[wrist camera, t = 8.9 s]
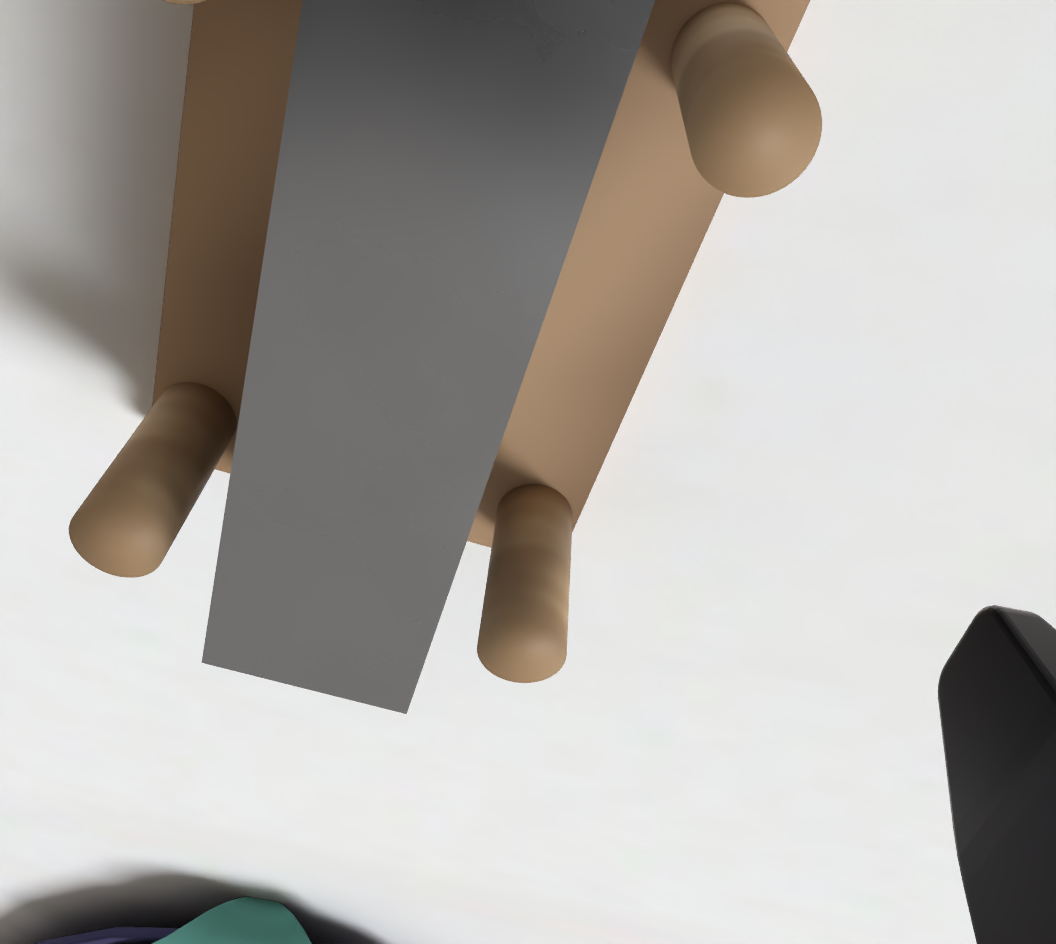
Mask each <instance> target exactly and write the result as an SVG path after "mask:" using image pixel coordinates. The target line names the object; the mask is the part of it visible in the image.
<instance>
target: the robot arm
mask: <svg viewBox="0 0 1056 944" xmlns="http://www.w3.org/2000/svg"><path fill="white" fill-rule="evenodd" d="M938 701H939V709H940V718H941V727H942V735H943V744H944V752H945V761H946V769H947V778H948V787H949V795H950V804H951V812H952V821H953V830H954V836H955V843H956V850H957V856H958V861H959V866H960V871H961V876H962V881H963V886H964V890H965V894H966V899H967V903H968V907H969V912H970V916H971V920H972V925H973V929H974V933H975V938H976V942H977V944H1056V629H1054V628H1053V627H1052V626H1051V625H1050V624H1049V623H1047V622H1046V621H1045V620H1044V619H1043V618H1041V617H1040V616H1039V615H1036V614H1034V613H1032V612H1028V611H1023V610H1017V609H1012V608H1007V607H1001V606H996V605H993V606H988V607H985V608H983V609H982V610H981V611H979V612H978V614H977V615H976V616H975V617H974V619H973V621H972V622H971V624H970V625H969V627H968V629H967V630H966V632H965V633H964V635H963V637H962V638H961V640H960V641H959V643H958V645H957V646H956V648H955V649H954V651H953V653H952V654H951V656H950V657H949V659H948V661H947V662H946V664H945V666H944V668H943V670H942V672H941V675H940V679H939V684H938Z"/></svg>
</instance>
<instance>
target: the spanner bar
mask: <svg viewBox="0 0 1056 944" xmlns="http://www.w3.org/2000/svg"><path fill="white" fill-rule="evenodd" d="M654 3H655V0H302V7H301V13H300V20H299V27H298V33H297V40H296V46H295V53H294V60H293V66H292V73H291V79H290V86H289V92H288V99H287V106H286V112H285V119H284V125H283V132H282V138H281V145H280V152H279V158H278V165H277V171H276V178H275V184H274V191H273V198H272V204H271V211H270V217H269V224H268V231H267V237H266V244H265V250H264V257H263V263H262V270H261V277H260V283H259V290H258V296H257V303H256V309H255V316H254V323H253V329H252V336H251V342H250V349H249V355H248V362H247V369H246V375H245V382H244V388H243V395H242V401H241V408H240V415H239V421H238V428H237V434H236V441H235V448H234V454H233V461H232V467H231V474H230V480H229V487H228V494H227V500H226V507H225V513H224V520H223V526H222V533H221V540H220V546H219V553H218V559H217V566H216V572H215V579H214V586H213V592H212V599H211V605H210V612H209V618H208V625H207V632H206V638H205V645H204V651H203V658H202V663H205V664H209V665H213V666H217V667H221V668H225V669H229V670H233V671H237V672H241V673H245V674H249V675H253V676H257V677H261V678H265V679H269V680H273V681H277V682H281V683H285V684H289V685H293V686H297V687H301V688H305V689H309V690H313V691H317V692H321V693H325V694H329V695H333V696H337V697H341V698H345V699H349V700H353V701H357V702H361V703H365V704H369V705H373V706H377V707H381V708H385V709H389V710H393V711H397V712H401V713H405V714H407V711H408V708H409V705H410V702H411V699H412V696H413V694H414V691H415V688H416V685H417V682H418V679H419V676H420V674H421V671H422V668H423V665H424V662H425V659H426V656H427V653H428V651H429V648H430V645H431V642H432V639H433V636H434V633H435V631H436V628H437V625H438V622H439V619H440V616H441V613H442V610H443V608H444V605H445V602H446V599H447V596H448V593H449V590H450V588H451V585H452V582H453V579H454V576H455V573H456V570H457V567H458V565H459V562H460V559H461V556H462V553H463V550H464V547H465V545H466V542H467V539H468V536H469V533H470V530H471V527H472V524H473V522H474V519H475V516H476V513H477V510H478V507H479V504H480V502H481V499H482V496H483V493H484V490H485V487H486V484H487V481H488V479H489V476H490V473H491V470H492V467H493V464H494V461H495V459H496V456H497V453H498V450H499V447H500V444H501V441H502V438H503V436H504V433H505V430H506V427H507V424H508V421H509V418H510V416H511V413H512V410H513V407H514V404H515V401H516V398H517V395H518V393H519V390H520V387H521V384H522V381H523V378H524V375H525V373H526V370H527V367H528V364H529V361H530V358H531V355H532V352H533V350H534V347H535V344H536V341H537V338H538V335H539V332H540V330H541V327H542V324H543V321H544V318H545V315H546V312H547V309H548V307H549V304H550V301H551V298H552V295H553V292H554V289H555V287H556V284H557V281H558V278H559V275H560V272H561V269H562V266H563V264H564V261H565V258H566V255H567V252H568V249H569V246H570V244H571V241H572V238H573V235H574V232H575V229H576V226H577V223H578V221H579V218H580V215H581V212H582V209H583V206H584V203H585V201H586V198H587V195H588V192H589V189H590V186H591V183H592V180H593V178H594V175H595V172H596V169H597V166H598V163H599V160H600V158H601V155H602V152H603V149H604V146H605V143H606V140H607V137H608V135H609V132H610V129H611V126H612V123H613V120H614V117H615V115H616V112H617V109H618V106H619V103H620V100H621V97H622V94H623V92H624V89H625V86H626V83H627V80H628V77H629V74H630V72H631V69H632V66H633V63H634V60H635V57H636V54H637V51H638V49H639V46H640V43H641V40H642V37H643V34H644V31H645V29H646V26H647V23H648V20H649V17H650V14H651V11H652V8H653V6H654Z"/></svg>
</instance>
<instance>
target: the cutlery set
mask: <svg viewBox="0 0 1056 944" xmlns="http://www.w3.org/2000/svg"><path fill="white" fill-rule="evenodd" d="M37 944H312V943H311V941H310V940H309V938H308V936H307V934H306V933H305V931H304V929H303V928H302V926H301V925H300V923H299V922H298V921H297V919H296V918H295V916H294V915H293V914H292V913H291V912H290V911H289V910H288V909H287V908H286V907H285V906H283V905H282V904H281V903H278V902H273V901H268V900H263V899H258V898H253V897H248V896H247V897H243V898H238V899H234V900H230V901H227V902H225V903H223V904H221V905H219V906H216V907H214V908H212V909H210V910H208V911H206V912H205V913H203V914H202V915H200V916H199V917H197V918H195V919H194V920H192V921H191V922H189V923H187V924H186V925H184V926H183V927H181V928H151V927H115V928H109V929H104V930H99V931H93V932H88V933H82V934H77V935H71V936H66V937H60V938H55V939H49V940H44V941H40V942H39V943H37Z"/></svg>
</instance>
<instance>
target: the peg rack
mask: <svg viewBox="0 0 1056 944" xmlns="http://www.w3.org/2000/svg"><path fill="white" fill-rule="evenodd" d="M163 1H166V2H170V3H175V4H194V10H193V19H192V29H191V39H190V48H189V58H188V68H187V77H186V87H185V97H184V106H183V116H182V126H181V135H180V145H179V154H178V164H177V174H176V183H175V193H174V203H173V212H172V222H171V232H170V241H169V251H168V261H167V270H166V280H165V290H164V299H163V309H162V318H161V328H160V338H159V347H158V357H157V367H156V376H155V386H154V396H153V405H152V408H151V409H150V411H149V412H148V414H147V415H146V416H145V418H144V419H143V421H142V422H141V423H140V425H139V426H138V427H137V429H136V430H135V432H134V433H133V434H132V436H131V437H130V439H129V440H128V441H127V443H126V444H125V445H124V447H123V448H122V450H121V451H120V452H119V454H118V455H117V457H116V458H115V459H114V461H113V462H112V463H111V465H110V466H109V468H108V469H107V470H106V472H105V473H104V475H103V476H102V477H101V479H100V480H99V481H98V483H97V484H96V486H95V487H94V488H93V490H92V491H91V493H90V494H89V495H88V497H87V498H86V499H85V501H84V502H83V504H82V505H81V506H80V508H79V509H78V511H77V512H76V513H75V515H74V516H73V518H72V519H71V522H70V525H69V535H70V539H71V542H72V544H73V546H74V548H75V549H76V551H77V552H78V553H79V554H80V555H81V557H82V558H84V559H85V560H86V561H87V562H88V563H90V564H91V565H92V566H94V567H96V568H97V569H99V570H101V571H103V572H106V573H108V574H112V575H115V576H120V577H140V576H144V575H147V574H149V573H151V572H153V571H154V570H156V569H157V568H158V567H159V565H160V564H161V562H162V561H163V559H164V557H165V555H166V554H167V552H168V550H169V548H170V546H171V545H172V543H173V541H174V539H175V538H176V536H177V534H178V532H179V531H180V529H181V527H182V525H183V524H184V522H185V520H186V518H187V516H188V515H189V513H190V511H191V509H192V508H193V506H194V504H195V502H196V501H197V499H198V497H199V495H200V494H201V492H202V490H203V488H204V486H205V485H206V483H207V481H208V479H209V478H210V476H211V474H212V472H213V471H214V469H217V470H220V471H224V472H227V473H231V467H232V461H233V454H234V448H235V441H236V434H237V428H238V421H239V415H240V408H241V401H242V395H243V388H244V382H245V375H246V369H247V362H248V355H249V349H250V342H251V336H252V329H253V323H254V316H255V309H256V303H257V296H258V290H259V283H260V277H261V270H262V263H263V257H264V250H265V244H266V237H267V231H268V224H269V217H270V211H271V204H272V198H273V191H274V184H275V178H276V171H277V165H278V158H279V152H280V145H281V138H282V132H283V125H284V119H285V112H286V106H287V99H288V92H289V86H290V79H291V73H292V66H293V60H294V53H295V46H296V40H297V33H298V27H299V20H300V13H301V7H302V0H163ZM809 2H810V0H655V3H654V6H653V8H652V11H651V14H650V17H649V20H648V23H647V26H646V29H645V31H644V34H643V37H642V40H641V43H640V46H639V49H638V51H637V54H636V57H635V60H634V63H633V66H632V69H631V72H630V74H629V77H628V80H627V83H626V86H625V89H624V92H623V94H622V97H621V100H620V103H619V106H618V109H617V112H616V115H615V117H614V120H613V123H612V126H611V129H610V132H609V135H608V137H607V140H606V143H605V146H604V149H603V152H602V155H601V158H600V160H599V163H598V166H597V169H596V172H595V175H594V178H593V180H592V183H591V186H590V189H589V192H588V195H587V198H586V201H585V203H584V206H583V209H582V212H581V215H580V218H579V221H578V223H577V226H576V229H575V232H574V235H573V238H572V241H571V244H570V246H569V249H568V252H567V255H566V258H565V261H564V264H563V266H562V269H561V272H560V275H559V278H558V281H557V284H556V287H555V289H554V292H553V295H552V298H551V301H550V304H549V307H548V309H547V312H546V315H545V318H544V321H543V324H542V327H541V330H540V332H539V335H538V338H537V341H536V344H535V347H534V350H533V352H532V355H531V358H530V361H529V364H528V367H527V370H526V373H525V375H524V378H523V381H522V384H521V387H520V390H519V393H518V395H517V398H516V401H515V404H514V407H513V410H512V413H511V416H510V418H509V421H508V424H507V427H506V430H505V433H504V436H503V438H502V441H501V444H500V447H499V450H498V453H497V456H496V459H495V461H494V464H493V467H492V470H491V473H490V476H489V479H488V481H487V484H486V487H485V490H484V493H483V496H482V499H481V502H480V504H479V507H478V510H477V513H476V516H475V519H474V522H473V524H472V527H471V530H470V533H469V536H468V539H467V541H470V542H473V543H477V544H480V545H484V546H487V547H491V548H492V549H491V556H490V563H489V570H488V576H487V583H486V590H485V597H484V604H483V610H482V617H481V624H480V631H479V638H478V645H477V653H478V657H479V659H480V661H481V663H482V664H483V665H484V667H485V668H486V669H487V670H489V671H490V672H491V673H493V674H494V675H496V676H498V677H500V678H502V679H505V680H508V681H512V682H519V683H531V682H537V681H541V680H544V679H547V678H549V677H551V676H553V675H554V674H556V673H557V672H558V671H559V670H560V669H561V667H562V666H563V664H564V662H565V660H566V654H567V630H568V607H569V584H570V561H571V537H572V531H573V529H574V527H575V525H576V523H577V520H578V518H579V516H580V514H581V511H582V509H583V507H584V505H585V502H586V500H587V498H588V496H589V493H590V491H591V489H592V487H593V485H594V482H595V480H596V478H597V476H598V473H599V471H600V469H601V467H602V464H603V462H604V460H605V458H606V455H607V453H608V451H609V449H610V447H611V444H612V442H613V440H614V438H615V435H616V433H617V431H618V429H619V426H620V424H621V422H622V420H623V417H624V415H625V413H626V411H627V409H628V406H629V404H630V402H631V400H632V397H633V395H634V393H635V391H636V388H637V386H638V384H639V382H640V379H641V377H642V375H643V373H644V371H645V368H646V366H647V364H648V362H649V359H650V357H651V355H652V353H653V350H654V348H655V346H656V344H657V341H658V339H659V337H660V335H661V333H662V330H663V328H664V326H665V324H666V321H667V319H668V317H669V315H670V312H671V310H672V308H673V306H674V303H675V301H676V299H677V297H678V295H679V292H680V290H681V288H682V286H683V283H684V281H685V279H686V277H687V274H688V272H689V270H690V268H691V265H692V263H693V261H694V259H695V257H696V254H697V252H698V250H699V248H700V245H701V243H702V241H703V239H704V236H705V234H706V232H707V230H708V227H709V225H710V223H711V221H712V219H713V216H714V214H715V212H716V210H717V207H718V205H719V203H720V201H721V198H722V196H723V194H724V193H726V194H729V195H732V196H737V197H759V196H764V195H768V194H771V193H773V192H776V191H778V190H780V189H782V188H784V187H786V186H787V185H788V184H790V183H791V182H793V181H794V180H795V179H796V178H797V177H799V175H800V174H801V173H802V172H803V171H804V170H805V169H806V167H807V166H808V165H809V163H810V162H811V160H812V158H813V157H814V155H815V152H816V150H817V148H818V145H819V141H820V137H821V131H822V117H821V110H820V107H819V103H818V101H817V98H816V96H815V94H814V93H813V91H812V89H811V88H810V86H809V85H808V83H807V82H806V80H805V79H804V77H803V76H802V74H801V73H800V72H799V70H798V69H797V67H796V66H795V64H794V63H793V61H792V60H791V58H790V57H789V55H788V54H787V51H788V49H789V46H790V44H791V42H792V40H793V38H794V35H795V33H796V31H797V29H798V26H799V24H800V22H801V20H802V17H803V15H804V13H805V11H806V8H807V6H808V4H809Z"/></svg>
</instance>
